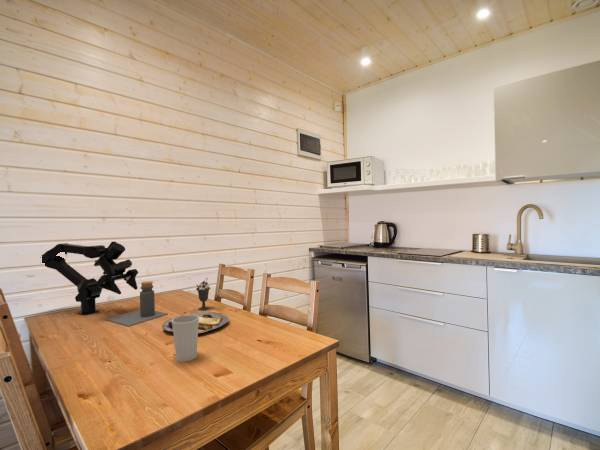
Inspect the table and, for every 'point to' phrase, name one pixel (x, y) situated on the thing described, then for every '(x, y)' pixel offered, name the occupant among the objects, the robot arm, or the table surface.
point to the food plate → (202, 321)
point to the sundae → (203, 293)
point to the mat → (133, 318)
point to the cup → (185, 337)
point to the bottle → (147, 299)
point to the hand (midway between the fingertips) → (128, 291)
